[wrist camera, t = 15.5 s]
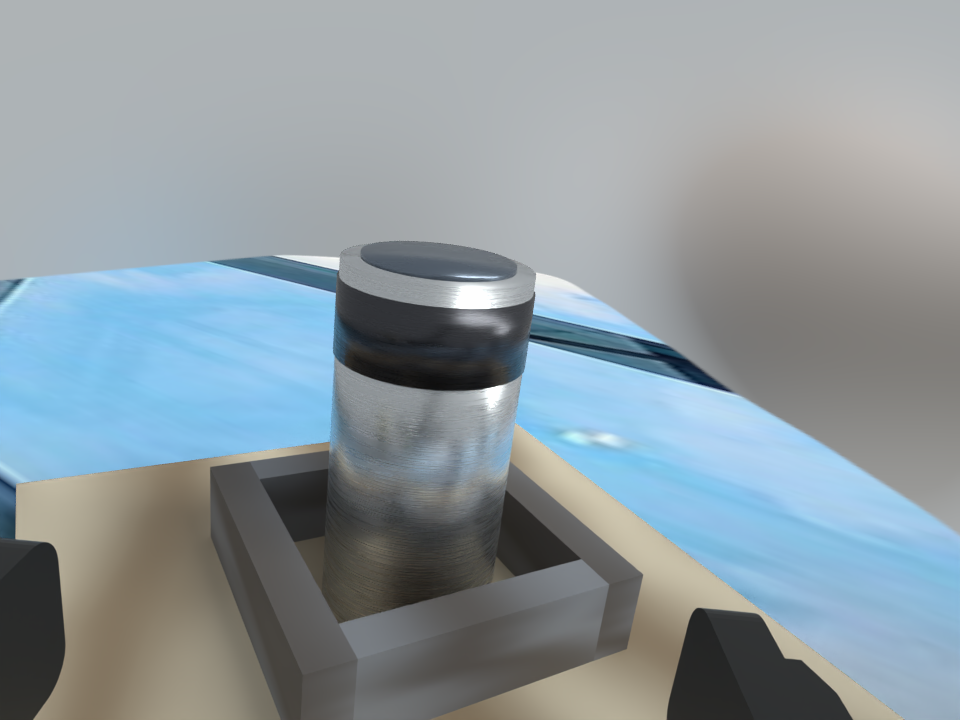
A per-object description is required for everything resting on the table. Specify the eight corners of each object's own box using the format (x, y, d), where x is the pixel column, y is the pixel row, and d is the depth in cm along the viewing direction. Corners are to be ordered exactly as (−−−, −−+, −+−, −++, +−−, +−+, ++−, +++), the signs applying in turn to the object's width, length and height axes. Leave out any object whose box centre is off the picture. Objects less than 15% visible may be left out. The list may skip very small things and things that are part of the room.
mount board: (504, 446, 36) (515, 369, 34) (897, 770, 20) (945, 649, 18) (20, 521, 25) (9, 416, 24) (15, 1318, 9) (-19, 1137, 8)
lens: (489, 550, 24) (531, 250, 21) (493, 658, 20) (548, 291, 16) (337, 535, 24) (355, 230, 21) (302, 640, 19) (319, 266, 16)
